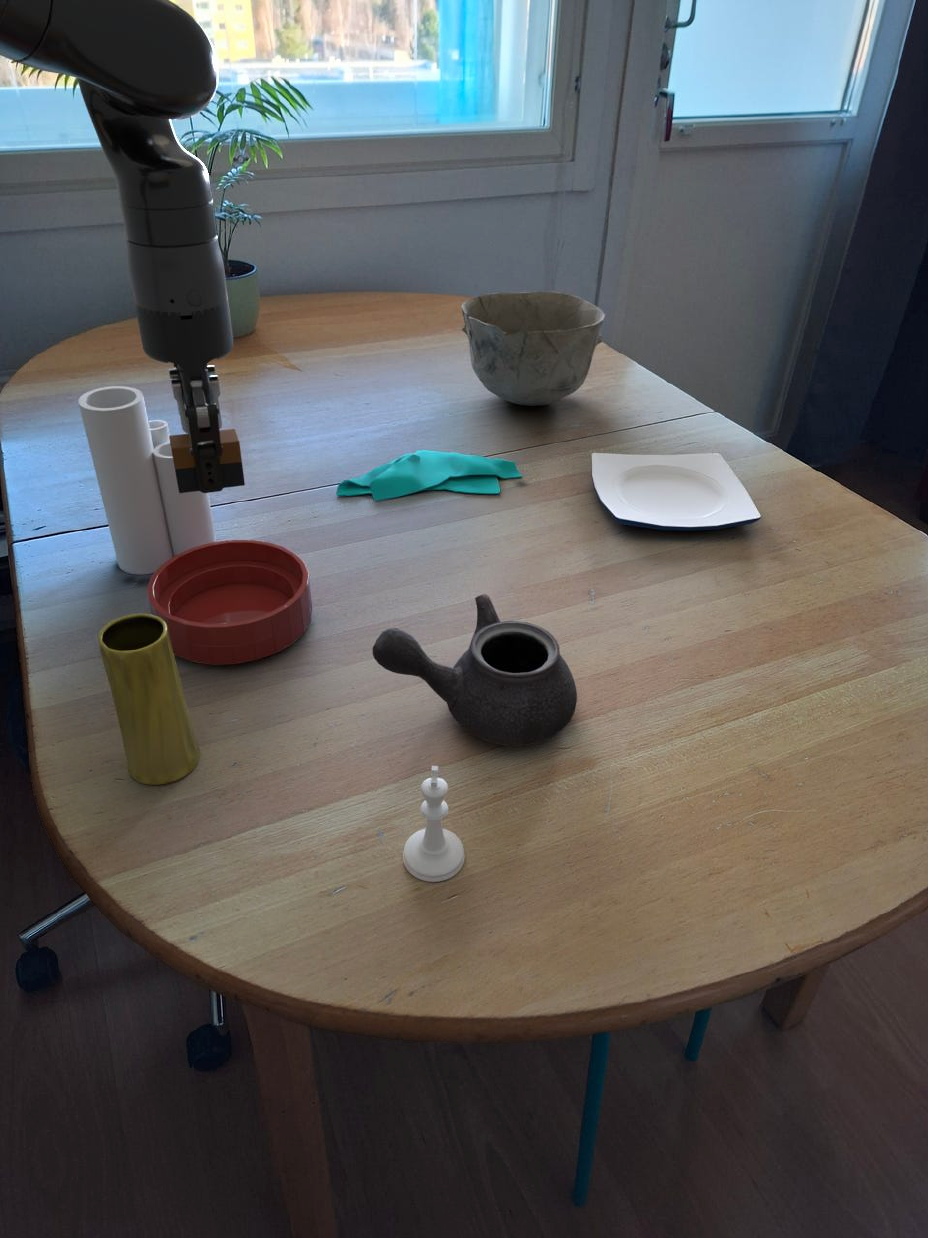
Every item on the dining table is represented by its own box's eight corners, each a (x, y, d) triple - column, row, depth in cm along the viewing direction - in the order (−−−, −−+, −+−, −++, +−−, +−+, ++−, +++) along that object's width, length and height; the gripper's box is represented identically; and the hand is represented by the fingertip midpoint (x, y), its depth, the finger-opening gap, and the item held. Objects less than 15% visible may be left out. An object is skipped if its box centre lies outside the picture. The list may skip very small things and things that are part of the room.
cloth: (511, 451, 129) (512, 436, 128) (529, 495, 119) (530, 480, 117) (335, 457, 126) (334, 442, 125) (336, 503, 115) (335, 487, 114)
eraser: (179, 493, 81) (171, 448, 78) (176, 479, 83) (168, 435, 80) (245, 485, 82) (239, 441, 80) (240, 471, 85) (235, 428, 82)
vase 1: (120, 579, 100) (79, 414, 88) (115, 548, 105) (76, 388, 93) (221, 561, 103) (194, 400, 91) (211, 531, 109) (185, 376, 97)
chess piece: (465, 833, 72) (469, 745, 66) (463, 883, 68) (467, 795, 62) (405, 831, 72) (403, 743, 66) (400, 881, 68) (397, 792, 62)
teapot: (534, 641, 93) (541, 561, 87) (596, 739, 81) (609, 655, 75) (359, 673, 88) (354, 591, 82) (399, 783, 76) (396, 696, 70)
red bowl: (162, 684, 85) (151, 639, 82) (153, 593, 98) (143, 552, 94) (326, 653, 90) (322, 610, 87) (297, 571, 102) (293, 530, 99)
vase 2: (116, 757, 77) (78, 629, 69) (180, 727, 81) (151, 600, 72) (147, 797, 74) (111, 667, 65) (212, 763, 77) (187, 635, 69)
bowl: (442, 383, 150) (443, 294, 141) (554, 368, 157) (562, 282, 149) (496, 434, 134) (501, 337, 125) (618, 415, 141) (631, 321, 132)
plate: (766, 539, 111) (771, 521, 109) (607, 540, 110) (610, 522, 108) (720, 466, 127) (723, 449, 126) (581, 466, 126) (583, 449, 124)
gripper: (130, 274, 77) (163, 455, 87) (137, 323, 66) (174, 523, 76) (217, 270, 79) (239, 446, 89) (238, 317, 68) (261, 511, 78)
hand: (209, 481), depth 83 cm, fingers closed on eraser, 3 cm apart
